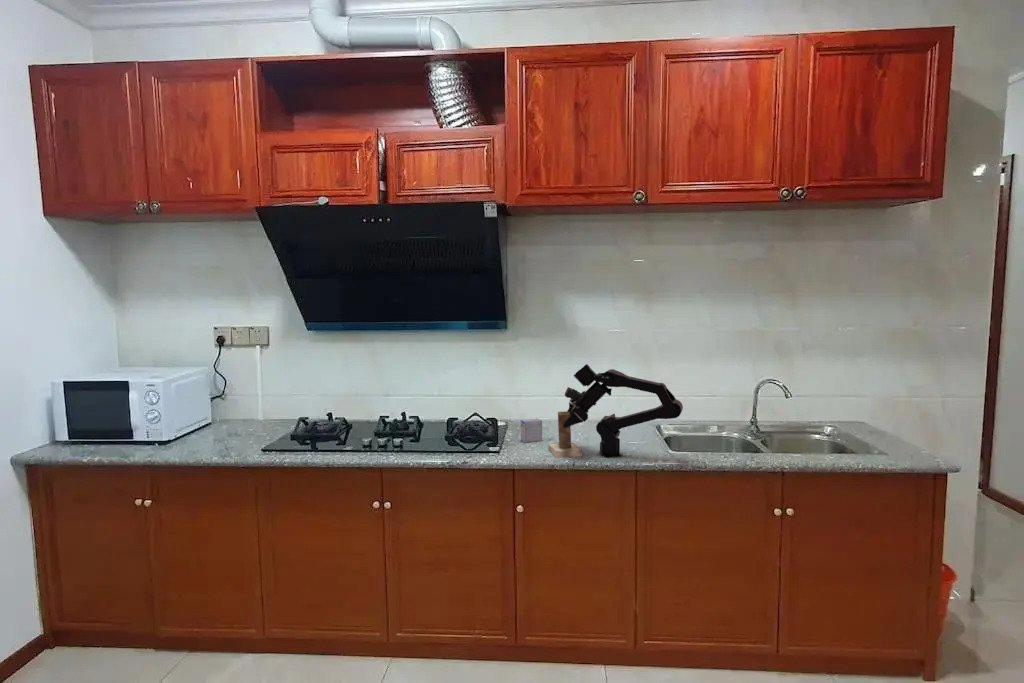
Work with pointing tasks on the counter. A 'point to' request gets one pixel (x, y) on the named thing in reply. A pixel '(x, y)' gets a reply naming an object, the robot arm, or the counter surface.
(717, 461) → the counter surface
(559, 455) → the birch block
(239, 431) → the counter surface
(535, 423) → the medicine box
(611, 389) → the robot arm
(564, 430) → the walnut block
